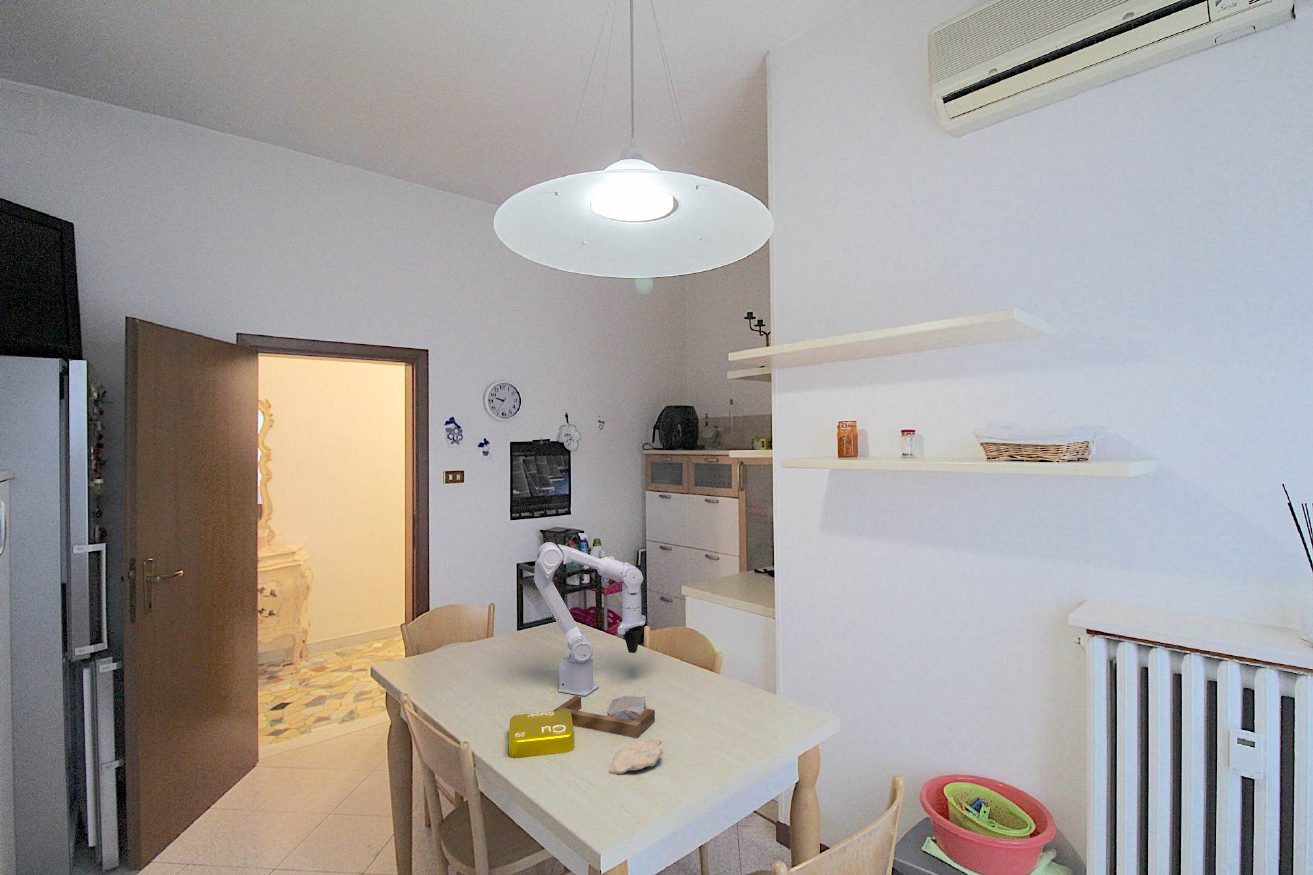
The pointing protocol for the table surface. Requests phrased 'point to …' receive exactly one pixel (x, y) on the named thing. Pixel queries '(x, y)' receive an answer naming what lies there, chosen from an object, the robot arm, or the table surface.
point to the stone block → (627, 707)
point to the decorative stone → (636, 756)
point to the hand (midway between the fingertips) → (632, 652)
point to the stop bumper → (608, 720)
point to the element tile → (541, 734)
